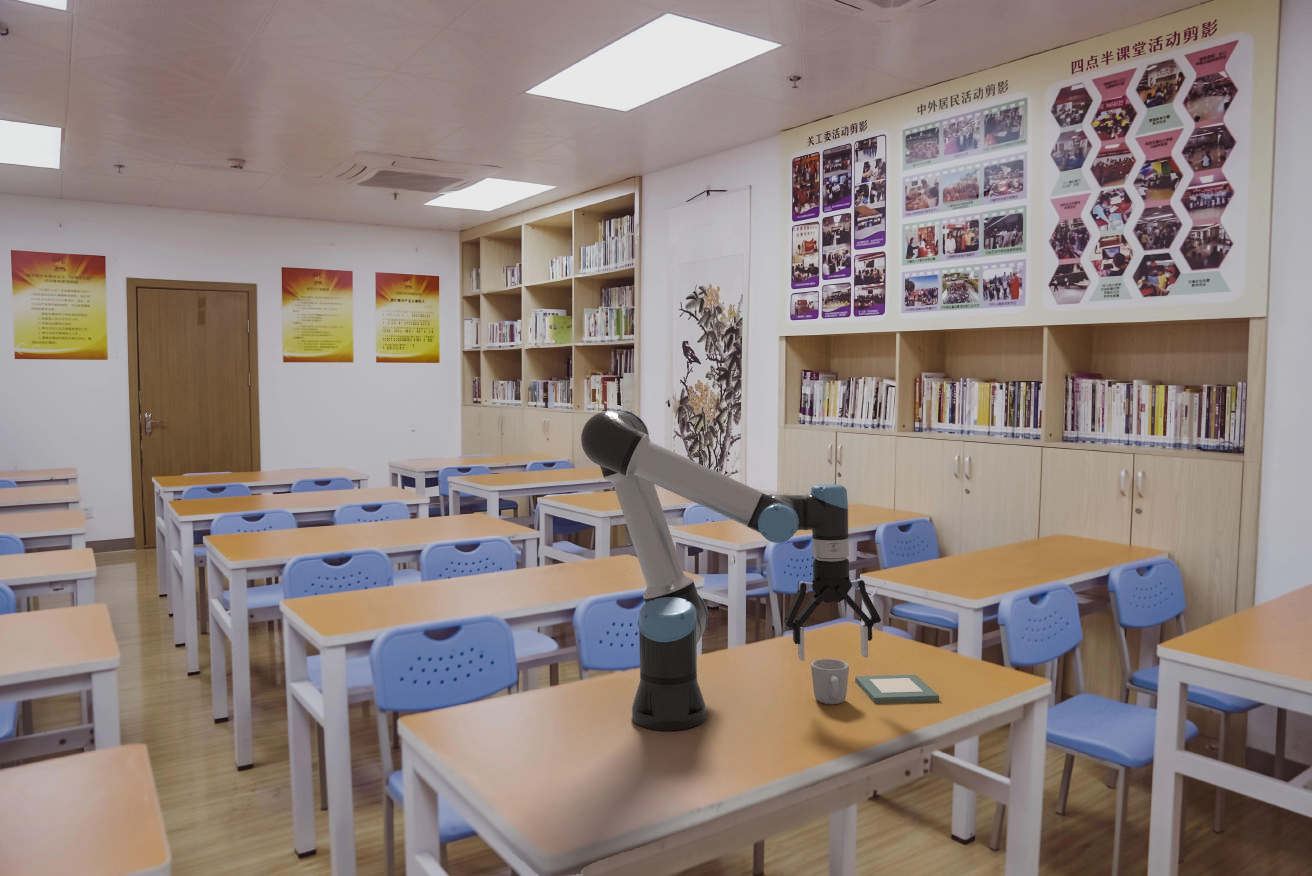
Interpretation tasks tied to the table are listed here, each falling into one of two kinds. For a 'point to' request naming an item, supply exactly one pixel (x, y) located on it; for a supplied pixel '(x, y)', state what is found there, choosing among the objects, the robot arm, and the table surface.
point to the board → (896, 688)
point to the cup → (830, 680)
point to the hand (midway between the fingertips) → (833, 657)
